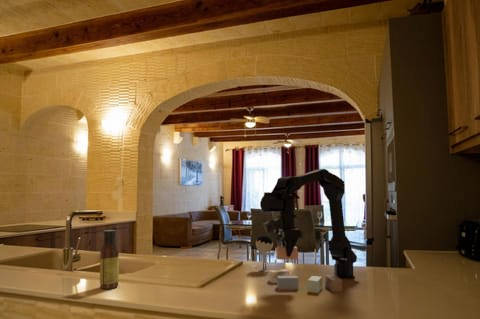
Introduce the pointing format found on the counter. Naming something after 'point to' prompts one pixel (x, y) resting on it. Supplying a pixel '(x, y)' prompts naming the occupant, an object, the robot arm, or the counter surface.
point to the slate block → (287, 282)
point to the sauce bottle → (109, 261)
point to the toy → (264, 247)
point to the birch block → (277, 274)
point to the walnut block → (333, 283)
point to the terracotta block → (282, 254)
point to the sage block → (314, 284)
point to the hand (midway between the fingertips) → (287, 255)
